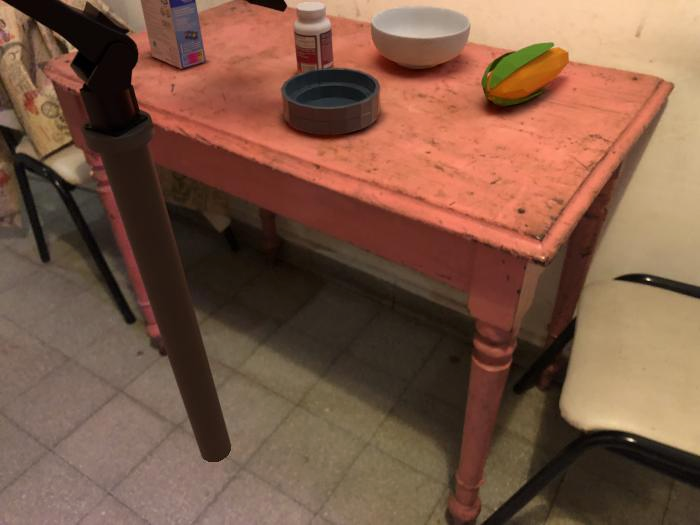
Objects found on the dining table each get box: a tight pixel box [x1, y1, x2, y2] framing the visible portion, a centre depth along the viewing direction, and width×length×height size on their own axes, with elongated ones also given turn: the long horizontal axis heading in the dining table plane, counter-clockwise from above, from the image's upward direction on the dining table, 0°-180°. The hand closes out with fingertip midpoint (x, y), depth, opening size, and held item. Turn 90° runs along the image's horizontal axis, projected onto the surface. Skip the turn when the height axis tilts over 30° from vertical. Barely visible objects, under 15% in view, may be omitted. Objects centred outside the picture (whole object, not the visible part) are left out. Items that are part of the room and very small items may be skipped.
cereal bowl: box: [370, 5, 471, 70], centre depth 101 cm, size 17×17×7 cm
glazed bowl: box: [280, 67, 381, 136], centre depth 86 cm, size 14×14×4 cm
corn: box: [480, 41, 570, 107], centre depth 90 cm, size 7×8×20 cm
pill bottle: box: [292, 1, 335, 74], centre depth 97 cm, size 6×6×11 cm
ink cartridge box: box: [140, 0, 207, 70], centre depth 102 cm, size 10×6×14 cm, turn 47°
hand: (269, 1), depth 89 cm, fingers open, 9 cm apart
